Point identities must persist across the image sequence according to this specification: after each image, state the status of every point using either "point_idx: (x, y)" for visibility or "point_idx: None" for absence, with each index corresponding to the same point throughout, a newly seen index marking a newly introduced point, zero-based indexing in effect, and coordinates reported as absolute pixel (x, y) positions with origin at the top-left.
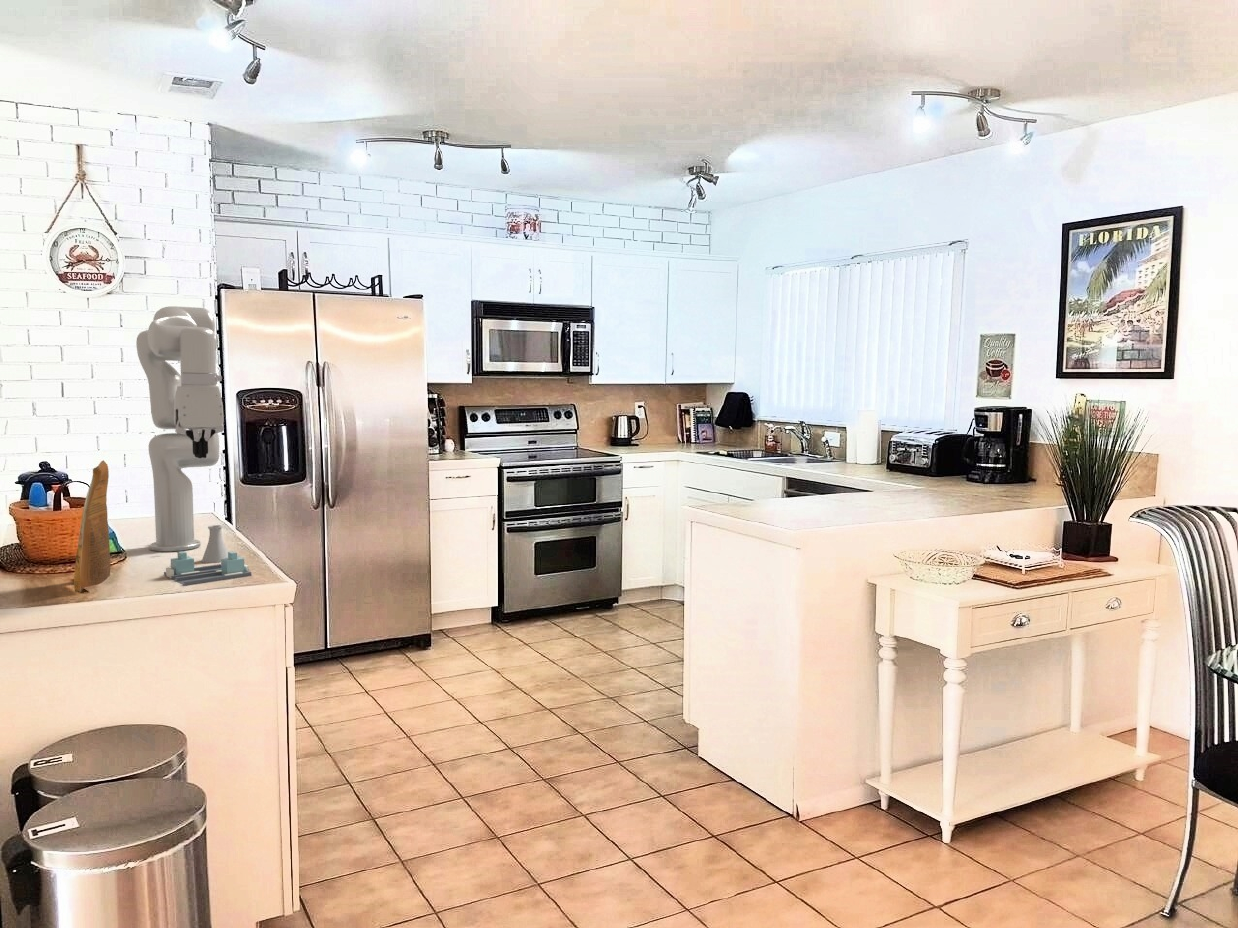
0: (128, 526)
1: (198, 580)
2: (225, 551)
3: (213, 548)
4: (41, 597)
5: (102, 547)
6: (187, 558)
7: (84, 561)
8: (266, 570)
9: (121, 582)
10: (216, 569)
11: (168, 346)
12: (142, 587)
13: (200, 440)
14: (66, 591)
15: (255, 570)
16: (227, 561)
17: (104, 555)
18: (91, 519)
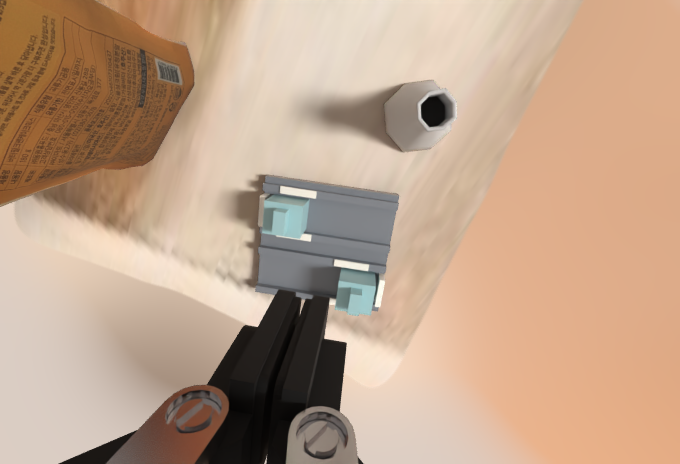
0: None
1: None
2: (435, 136)
3: (408, 129)
4: None
5: (108, 148)
6: (290, 227)
7: (82, 172)
8: (447, 253)
9: (202, 132)
10: (346, 242)
11: None
12: (217, 205)
13: (277, 429)
14: None
15: (433, 236)
16: (335, 309)
17: (127, 144)
18: (8, 159)
